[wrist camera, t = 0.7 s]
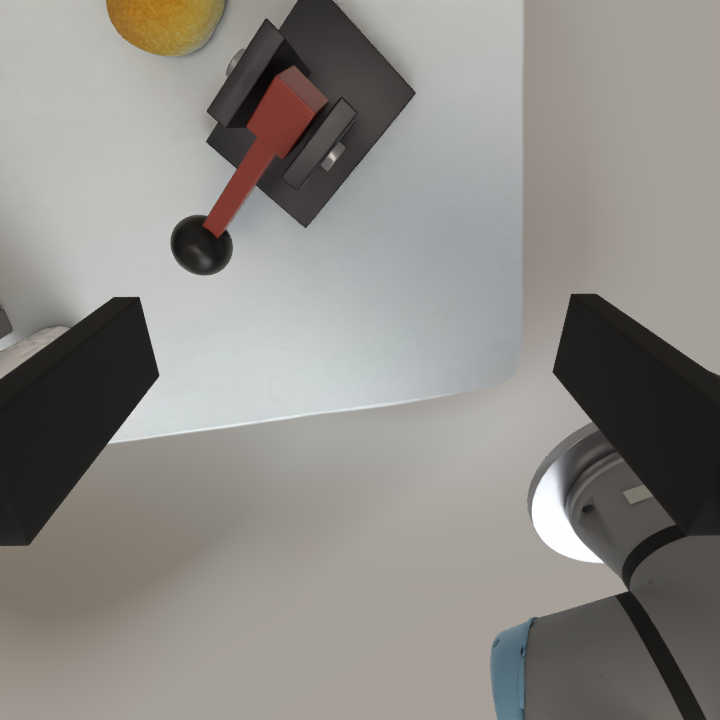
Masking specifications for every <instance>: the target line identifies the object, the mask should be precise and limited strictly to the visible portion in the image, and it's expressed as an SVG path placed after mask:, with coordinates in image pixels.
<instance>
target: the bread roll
mask: <svg viewBox="0 0 720 720" xmlns="http://www.w3.org/2000/svg"><path fill="white" fill-rule="evenodd" d="M106 3H107V10H108V14H109V17H110V20H111V22H112V24H113V25H114V27H115V28H116V30H117V31H118V33H119V34H120V35H121V36H122V37H123V38H124V39H126V40H127V41H128V42H129V43H131V44H132V45H134V46H136V47H138V48H140V49H143V50H145V51H147V52H150V53H153V54H158V55H164V56H183V55H188V54H190V53H192V52H194V51H196V50H198V49H200V48H201V47H202V46H203V45H204V44H205V43H206V42H207V41H208V40H209V39H210V37H211V36H212V34H213V32H214V30H215V28H216V27H217V25H218V23H219V21H220V19H221V16H222V13H223V10H224V5H225V0H106Z"/></svg>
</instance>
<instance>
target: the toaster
mask: <svg viewBox="0 0 720 720" xmlns="http://www.w3.org/2000/svg"><path fill="white" fill-rule="evenodd" d="M11 332H12V327H11V325H10V323H9V320H8V318H7V316H6V314H5V312H4V310H0V339H1V338H2V337H4V336H6V335H7V334H9V333H11Z"/></svg>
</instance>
